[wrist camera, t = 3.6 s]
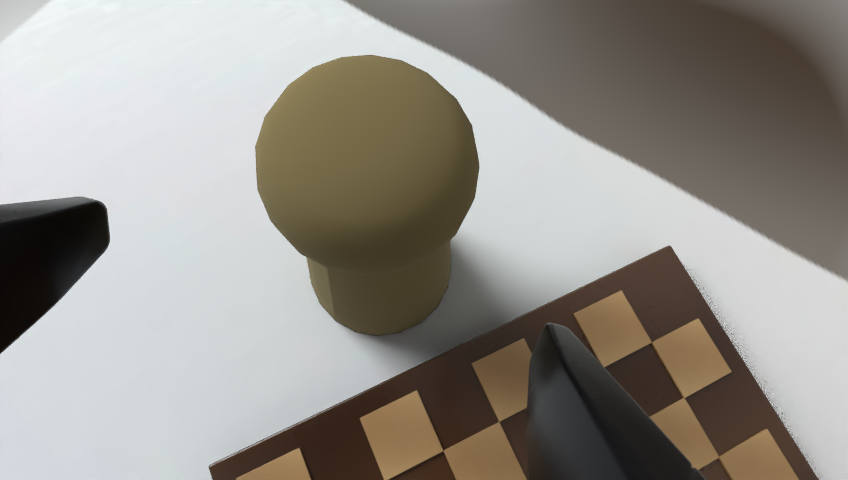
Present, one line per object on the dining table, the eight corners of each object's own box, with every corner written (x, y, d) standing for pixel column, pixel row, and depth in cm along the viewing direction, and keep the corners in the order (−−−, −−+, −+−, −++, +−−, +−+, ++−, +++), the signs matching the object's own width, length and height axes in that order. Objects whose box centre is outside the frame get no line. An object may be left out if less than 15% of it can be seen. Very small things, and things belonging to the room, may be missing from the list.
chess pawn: (399, 175, 21) (403, -31, 11) (478, 281, 20) (571, 166, 9) (282, 246, 20) (158, 91, 9) (359, 365, 19) (315, 339, 8)
